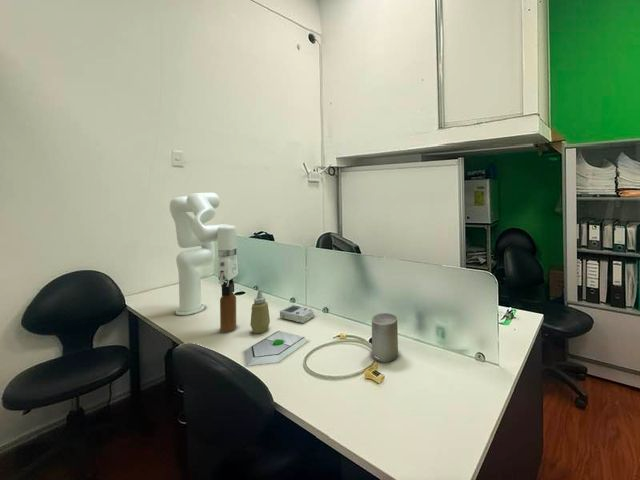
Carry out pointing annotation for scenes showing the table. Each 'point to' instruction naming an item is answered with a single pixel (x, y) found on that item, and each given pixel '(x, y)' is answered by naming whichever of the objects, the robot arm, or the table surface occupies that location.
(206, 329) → the table surface
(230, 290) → the cap
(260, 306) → the squeeze bottle
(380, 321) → the pillar candle
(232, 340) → the table surface
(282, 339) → the security device
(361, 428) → the table surface
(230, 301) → the bottle
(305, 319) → the handheld gaming device
